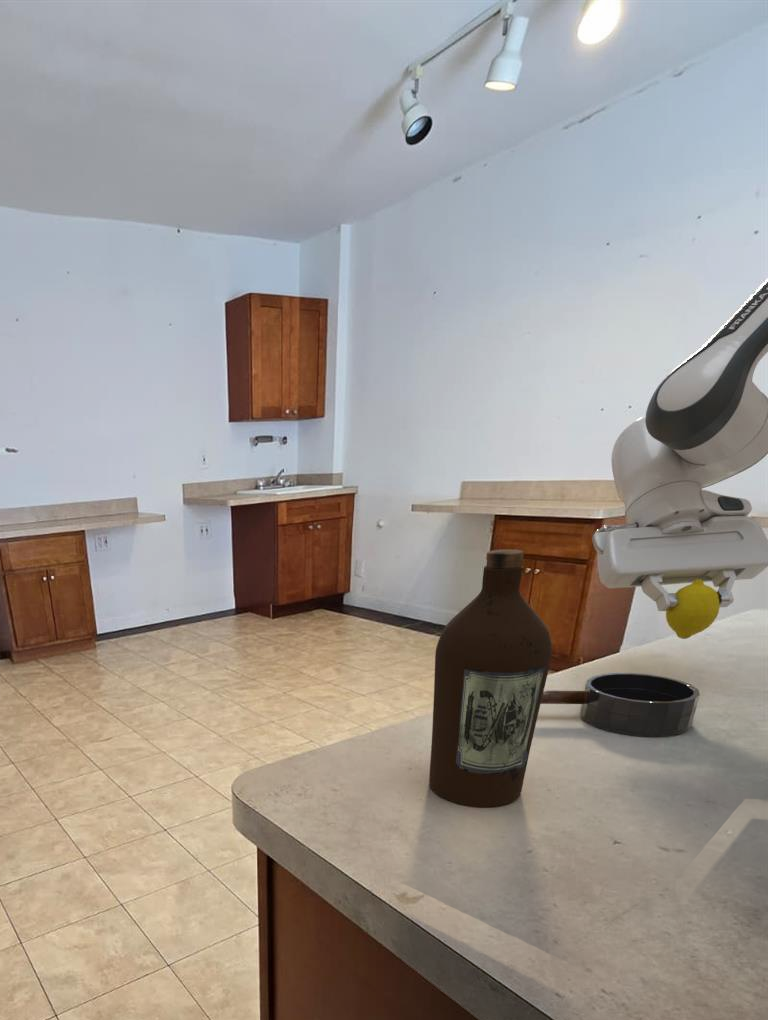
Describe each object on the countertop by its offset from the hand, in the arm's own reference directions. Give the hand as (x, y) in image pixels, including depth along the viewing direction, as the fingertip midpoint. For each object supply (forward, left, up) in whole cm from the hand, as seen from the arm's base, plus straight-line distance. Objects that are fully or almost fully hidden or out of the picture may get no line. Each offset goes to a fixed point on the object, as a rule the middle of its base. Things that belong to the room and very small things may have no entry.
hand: (696, 606), depth 83 cm
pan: (+7, +7, -13) cm, 17 cm away
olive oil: (+30, +29, -13) cm, 44 cm away
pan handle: (+18, +7, -11) cm, 23 cm away
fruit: (0, -1, -5) cm, 5 cm away
